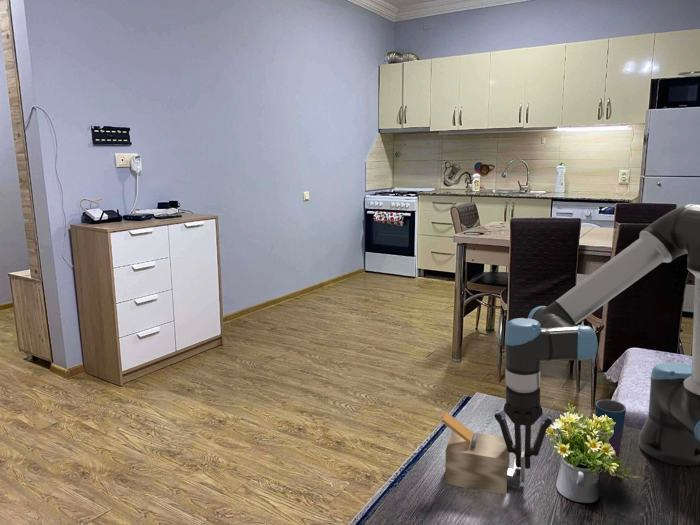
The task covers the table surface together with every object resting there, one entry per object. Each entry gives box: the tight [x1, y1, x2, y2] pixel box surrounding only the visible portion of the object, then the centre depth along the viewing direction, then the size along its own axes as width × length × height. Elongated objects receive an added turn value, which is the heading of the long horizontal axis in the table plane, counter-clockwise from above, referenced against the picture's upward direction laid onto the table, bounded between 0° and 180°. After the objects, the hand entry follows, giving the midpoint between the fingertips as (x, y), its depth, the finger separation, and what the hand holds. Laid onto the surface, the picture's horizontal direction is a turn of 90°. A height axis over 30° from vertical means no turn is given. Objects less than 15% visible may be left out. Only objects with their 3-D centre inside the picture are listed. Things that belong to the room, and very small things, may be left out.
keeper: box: [441, 411, 478, 447], centre depth 128 cm, size 10×5×1 cm
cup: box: [595, 399, 627, 459], centre depth 132 cm, size 7×7×15 cm
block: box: [445, 430, 511, 496], centre depth 128 cm, size 14×10×9 cm
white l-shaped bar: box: [444, 458, 521, 490], centre depth 128 cm, size 18×7×4 cm, turn 70°
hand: (523, 479), depth 125 cm, fingers closed
